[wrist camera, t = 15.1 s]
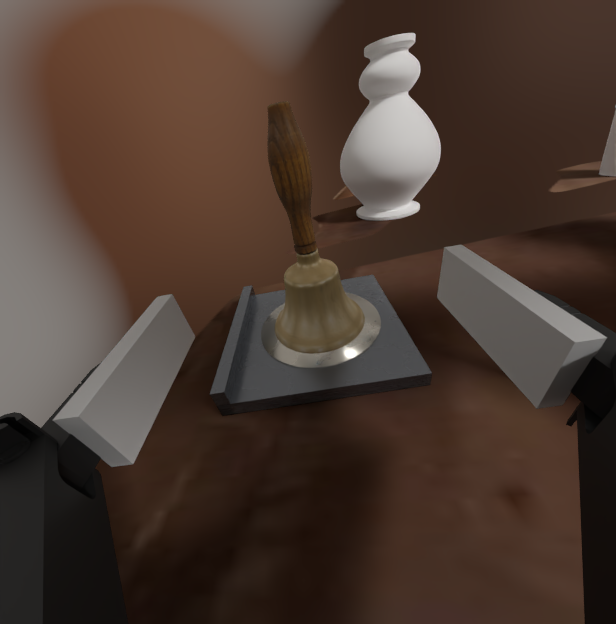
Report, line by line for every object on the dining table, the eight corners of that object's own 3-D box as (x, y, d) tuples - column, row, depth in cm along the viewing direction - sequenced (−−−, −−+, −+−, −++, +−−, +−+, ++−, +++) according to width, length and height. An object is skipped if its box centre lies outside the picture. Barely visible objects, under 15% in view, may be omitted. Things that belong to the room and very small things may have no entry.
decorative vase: (328, 216, 57) (310, 65, 43) (388, 196, 63) (390, 57, 49) (385, 231, 44) (387, 18, 30) (455, 204, 49) (484, 15, 35)
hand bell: (366, 353, 19) (354, 73, 10) (264, 354, 21) (178, 116, 12) (363, 295, 26) (354, 93, 17) (285, 300, 28) (240, 119, 19)
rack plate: (373, 283, 30) (372, 264, 29) (430, 384, 18) (434, 359, 17) (249, 304, 31) (243, 286, 30) (222, 415, 19) (209, 394, 17)
